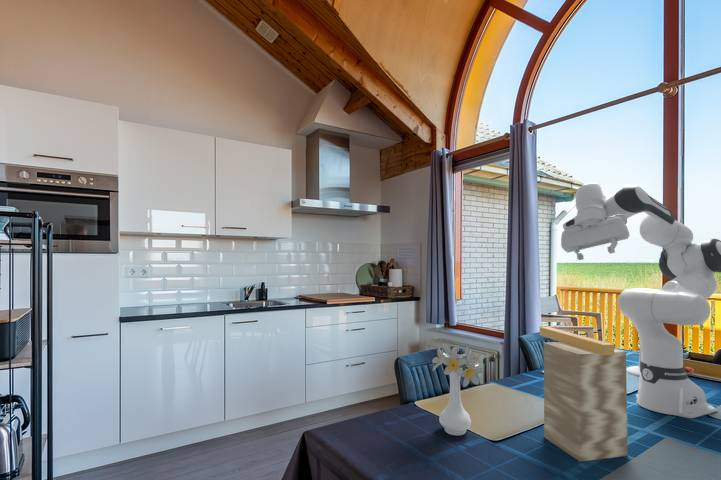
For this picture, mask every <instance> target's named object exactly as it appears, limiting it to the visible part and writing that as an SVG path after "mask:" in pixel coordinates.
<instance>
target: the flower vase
mask: <svg viewBox="0 0 721 480" xmlns="http://www.w3.org/2000/svg"><path fill="white" fill-rule="evenodd" d="M460 349H461V348H460V346H459V345H455V346H453V347H452V348H451V347H450V345H448V344H447V343H443V344H442V349H441V347H438V348H437V350H436V352H437V353H436V354H437V356H435V357H433V358H432V360H431V362H432V364H435V365H434V366H433V368H432V371H433V372H434V371H435V370H436V369H437V368H438V367H439V366H441V365H442V364H443V365H445V366H446V367H445V369H444V375H446V376H449V398H448V402H447V405H446V407H445V408H443V410H441V413H440V414H439V419H438V420H439V423H440V424H441V426H442V427H443V428H444V432H445V433H447V434H448V435H451V436H463V435H465V434H466V431H467V430H468V429H469V428H470V427H471V424H472V420H471V416H470V414H469V413H468V412H467V411H466V410H465V408H464V406H463V403H462V399H461V397H462V396H461V377H462V378H463V382H462V387H463V388H466V387H467V386H469V384H470V381H471V382H472V383H473V385H476V386H477V385H480V379H479V377H478V376H477V375H479V376H481V374H482V373H484V370H485V368H484V367H479V365H480V363H479V361H478V360H477V356H476V355H475V354H473V351H472V350H471V349H470V350H469V348H468V346H466V347H465V350H464V353H462V354H459V353H458V352H459V351H460Z"/></svg>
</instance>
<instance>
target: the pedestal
mask: <svg viewBox="0 0 721 480" xmlns="http://www.w3.org/2000/svg"><path fill="white" fill-rule="evenodd" d="M626 369H627V351H625V350H622V349H618V348H615V347H614V355H601V354H598V353H595V352H592V351H589V350H585V349H582V348H579V347H576V346H573V345H569V344H566V343H563V342H560V341H548V342H543V418H544V419H543V423H544V424H543V425H544V427H543V431H544V434H543V435H544V437H545V438H544V439H546V440H548V441H549V442H550V443H552V444H553V445H554V446H556V447H557V448H559V449H561V450H562V451H563V452H565V453H566V454H568V455H570V456H571V457H572V458H573V459H575V460H577V461H578V462H579V463H580V462H588V461H589V462H590V461H596V460H604V459H605V460H606V459H613V458H620V457H621V458H622V457H628V454H629V453H628V399H627V397H628V395H627V392H628V391H627V388H628V387H627V372H626Z"/></svg>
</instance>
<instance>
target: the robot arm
mask: <svg viewBox="0 0 721 480" xmlns="http://www.w3.org/2000/svg"><path fill="white" fill-rule="evenodd" d="M575 208H576V210H577V212H576V216H574V217H572V218H571V219H569V220H567V221H566V222H564V223H563V224H562V228H563V231H562V234H561V238H560V247H561V248H562V250H563V251H564V252H566V253H573V252H574V254H576V259H577V260H578V261H583V260H584V259H585V258H584V257H585V256H584V254H582V252H580V251H582V250H585V249H590V248H594V247H598V246H604V245H607V244H610V246H607V247H606V248H607V252H608V254H610V255H611V254H614V253H616V250H615V249H616V247H617V246H618V244H619V243H618V242H620V241H624V240H627V239H629V238H630V232H629V231H630V230H629V229H628V226H627V223H628V219H629V218H631V217H633V216H635V215H638V214H640V213H645V214H647V215H646V216H645V217H644V218H643V219H642V221H641V222H640V225H639V234H640V236H641V238H642V239H643V240H644V241H645V242H647V243H648V244H651V245H653V246H654V245H655V246H657V247H661V248H663V250H662V251H660V254H659V255H660V256H659V259H658V260H659V261H658V268H659V270H660V272H661V273H662V275H664V276H665V277H666V278H667V279H669V281H667V282H665V283H664V284H663V286H662V288H648V287H633V288H626V289H623V290H622V291H621V293H620V294H619V295H618V298H617V305H618V308H619V310H620V312H621V313H622V314H623V315H624V316H625V317H627V318H628V319H629V320H630V322H631V323H632V324H633V326H634V327H635V329H636V331H637V334H638V337H639V344H640V343H641V361H640V372H641V375H640V376H639V378H638V380H639V381H638V389H637V393H636V394H635V398H636V404H637V405H638V406H640V407H642V408H644V409H646V410H649V411H653V412H656V413H659V414H665V415H669V416H671V415H673V416H678V417H682V418H687V419H694V418H699V417H703V416H705V415H709V414H713V413H716V412H717V408H716V407H715V406H713V405H711V404H709V403H707V397H706V393H705V391H704V389H702V387H700V386H698V385H697V384H696V383H695V382H693V381H692V380H691V379H690V378H689V376H688V374H689V375H694V373H695V369H694V368H693V367H689V366H684V356H683V354H684V352H683V348H684V347H683V344H682V342H681V340H680V339H679V338H678V337H677V336H675V335H674V334H672V333H670V332H669V331H668V330H667V329H666V327H665V325H664V324H671V325H677V326H701V325H703V324H705V323H706V322H707V320H708V319H709V317H710V316H711V315H710V314H711V307H710V303H709V302H708V299H710V297H712V295H713V294H714V293H715V291H716V290H717V288H718V287H717V286H718V285H717V280H716V279H715V276H714V275H715V274H716V273H721V240H720V239H718V238H709V239H708V238H707V239H703V240H702V241H699V242H695V243H692V242H693V241H694V240H693V239H694V233H693V231H692V230H691V228H689V227H688V226H687V225H685V224H684V223H682V222H680V221H678V220H676V218H675V216H674V214H673V212H672V211H671V210H670V208H668V207H667V206H666V205H664V204H663V203H661V202H660V201H658V200H656V199H655V198H653V197H652V196H650V195H649V194H648V193H647V192H646V191H645V190H644V189H642V187H640V186H638V185H632V184H626V185H624V186H623V187H622V188H620V189H618V190H617V191H616V192H615V193H613V194H611V195H610V196H608V197H607V196H606V195H604V193H603V190H602V188H601V185H600V184H599V182H594V181H592V182H588V183H584V184H582V185H581V186H579V187H578V188H577V190H576V192H575Z"/></svg>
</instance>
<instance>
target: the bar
mask: <svg viewBox="0 0 721 480" xmlns="http://www.w3.org/2000/svg"><path fill="white" fill-rule="evenodd" d="M539 336H541V337H543V338H548V339H550V340H553V341H556V342H563V343H566V344H569V345H573V346H576V347H579V348H582V349H585V350H589V351H592V352H595V353H598V354H601V355H614V348H615V343H610V342H607V341H602V340H600V339H596V338H592V337H588V336H584V335H581V334H578V333H573V332H571V331H570V332H569V331H566V330H562V329H559V328H555V327H552V326H539Z"/></svg>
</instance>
